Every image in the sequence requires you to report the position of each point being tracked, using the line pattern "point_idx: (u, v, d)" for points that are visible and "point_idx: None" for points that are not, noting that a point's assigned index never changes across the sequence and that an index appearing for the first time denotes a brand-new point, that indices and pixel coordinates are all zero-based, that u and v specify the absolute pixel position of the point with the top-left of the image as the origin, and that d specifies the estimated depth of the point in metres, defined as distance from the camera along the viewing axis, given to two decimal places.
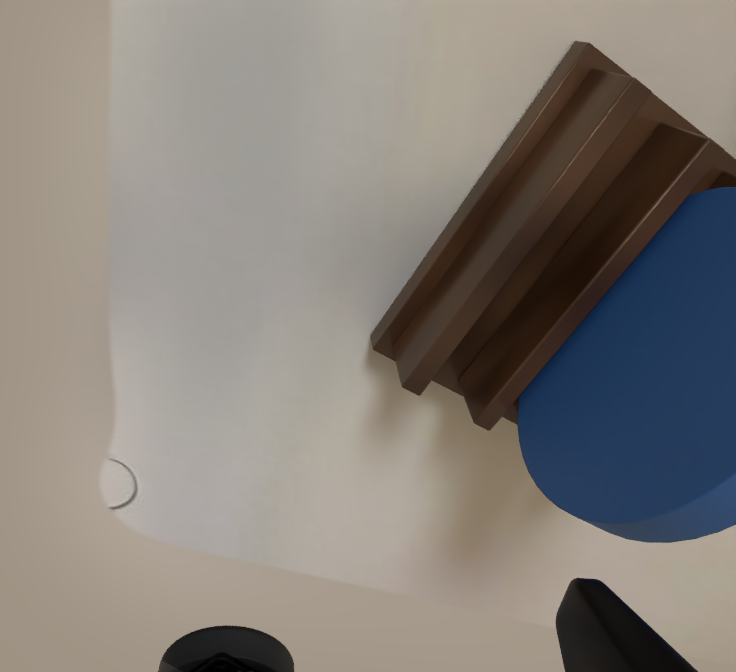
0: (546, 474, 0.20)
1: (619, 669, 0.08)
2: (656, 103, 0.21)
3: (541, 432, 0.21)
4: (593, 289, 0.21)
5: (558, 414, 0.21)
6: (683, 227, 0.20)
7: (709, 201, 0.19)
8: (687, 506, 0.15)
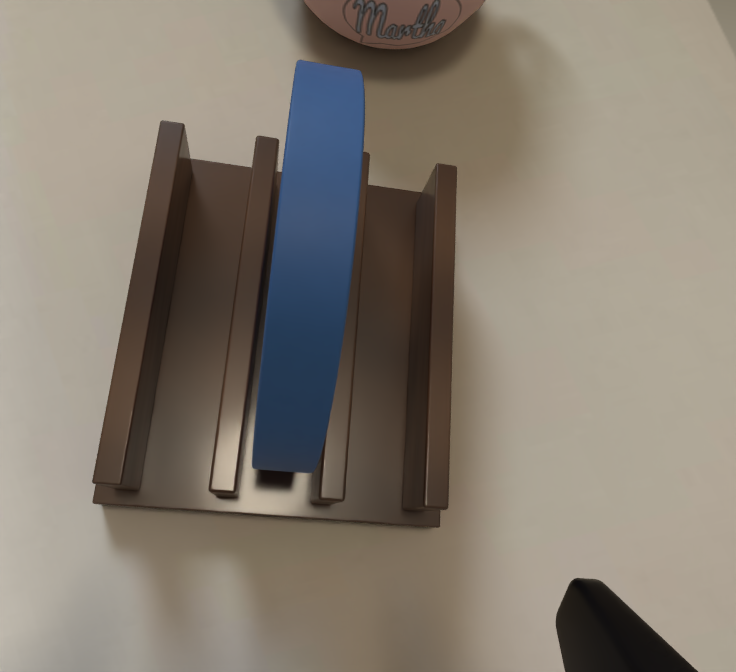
0: None
1: (619, 669, 0.08)
2: (242, 169, 0.24)
3: None
4: (244, 286, 0.20)
5: None
6: None
7: None
8: (276, 254, 0.12)
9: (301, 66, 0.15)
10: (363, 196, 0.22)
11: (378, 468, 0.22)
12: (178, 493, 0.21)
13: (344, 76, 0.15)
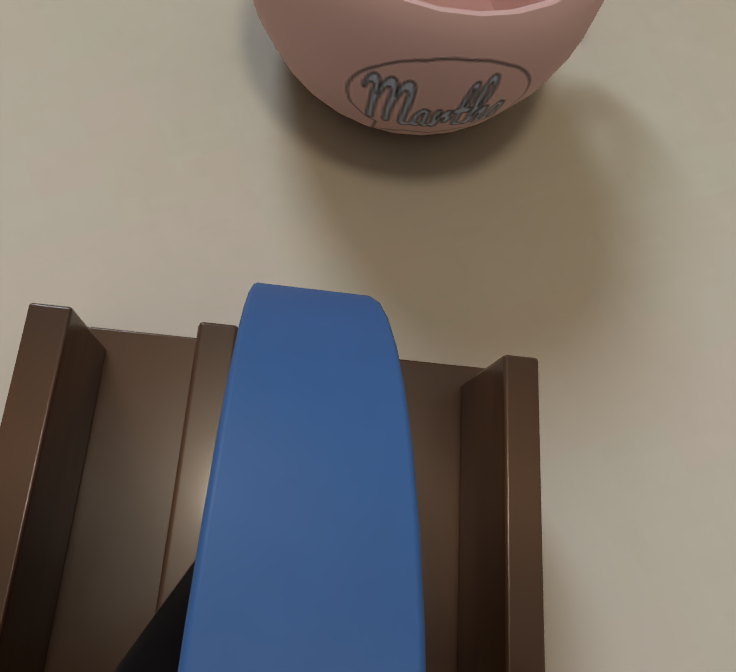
0: None
1: None
2: (187, 343, 0.15)
3: None
4: None
5: None
6: None
7: None
8: None
9: (242, 376, 0.05)
10: None
11: None
12: None
13: (357, 403, 0.05)
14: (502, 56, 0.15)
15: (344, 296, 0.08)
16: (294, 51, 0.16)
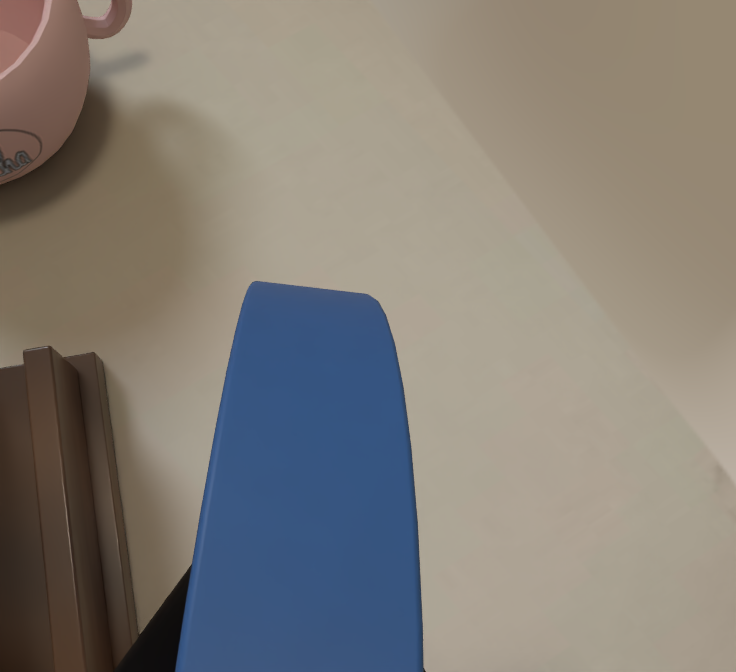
0: None
1: None
2: None
3: None
4: None
5: None
6: None
7: None
8: None
9: (241, 373, 0.05)
10: None
11: None
12: None
13: (356, 399, 0.05)
14: None
15: (343, 294, 0.08)
16: None
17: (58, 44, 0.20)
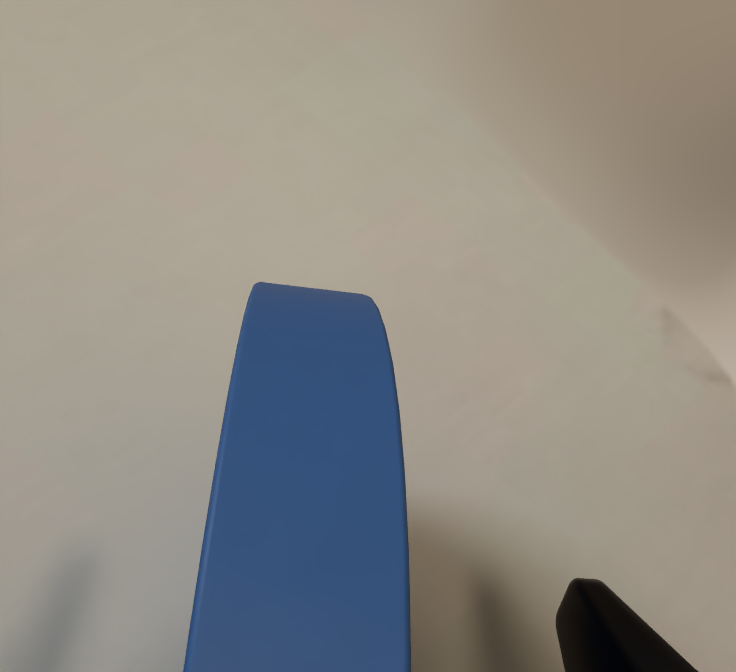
0: None
1: (619, 669, 0.08)
2: None
3: None
4: None
5: None
6: None
7: None
8: None
9: (249, 349, 0.06)
10: None
11: None
12: None
13: (351, 370, 0.06)
14: None
15: (339, 292, 0.09)
16: None
17: None
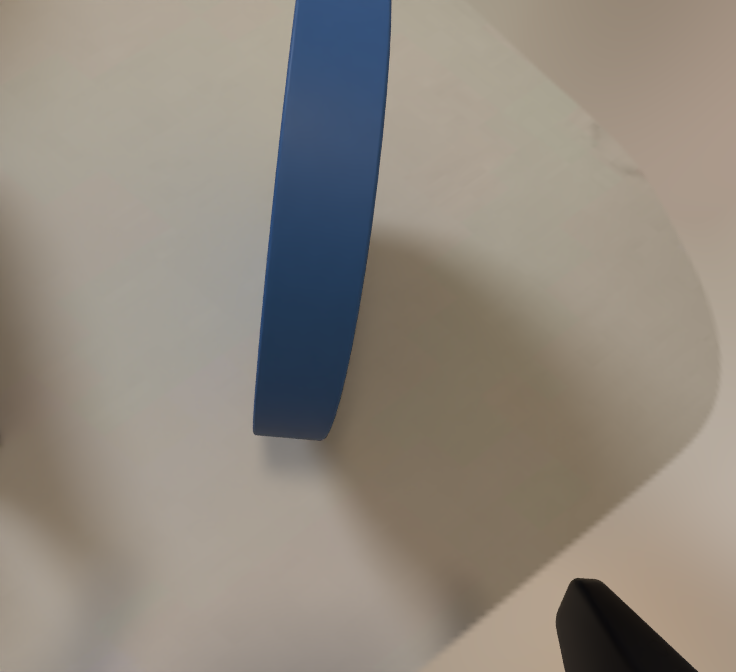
0: None
1: (619, 669, 0.08)
2: None
3: None
4: None
5: None
6: None
7: None
8: (288, 105, 0.10)
9: None
10: None
11: None
12: None
13: None
14: None
15: None
16: None
17: None
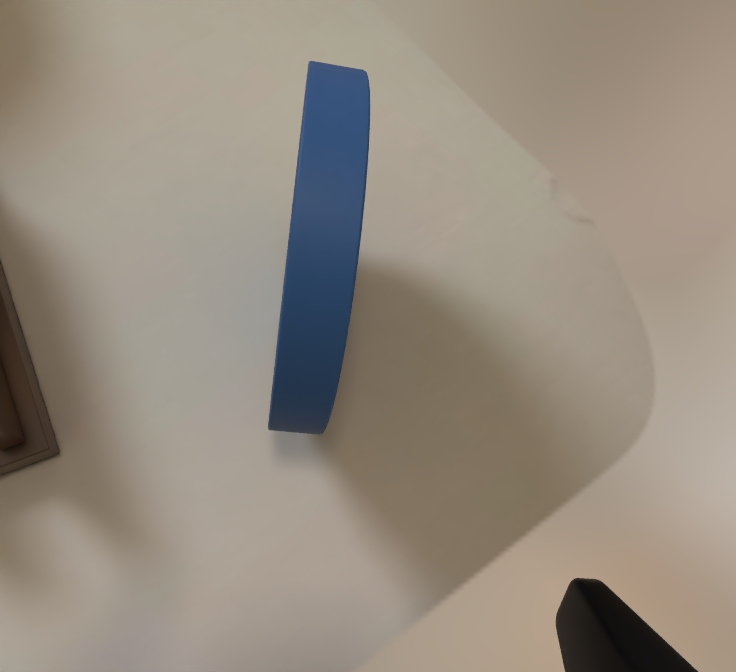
0: None
1: (619, 669, 0.08)
2: None
3: None
4: None
5: None
6: None
7: None
8: (299, 178, 0.14)
9: (313, 61, 0.17)
10: None
11: None
12: None
13: (349, 68, 0.17)
14: None
15: None
16: None
17: None
